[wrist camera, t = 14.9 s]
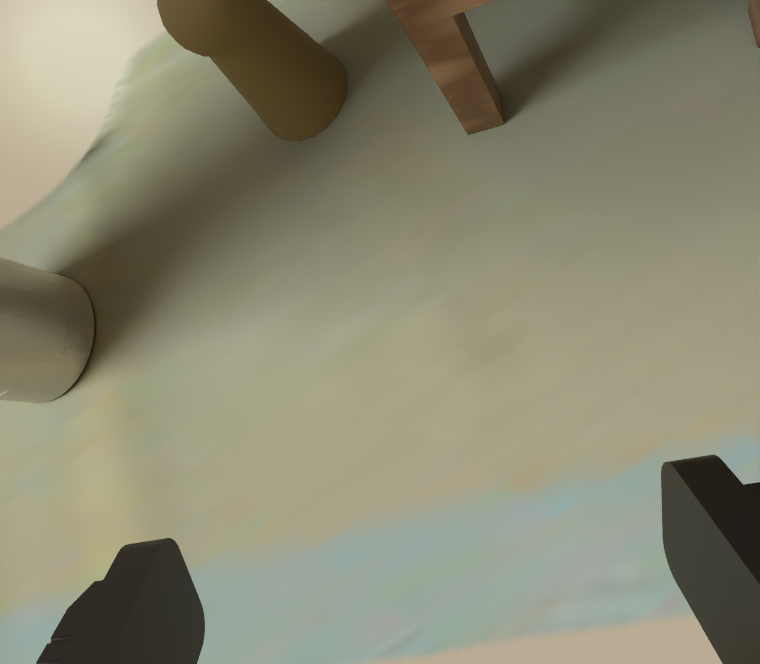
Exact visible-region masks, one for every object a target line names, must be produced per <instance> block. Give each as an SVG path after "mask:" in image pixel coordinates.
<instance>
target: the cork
mask: <svg viewBox="0 0 760 664" xmlns="http://www.w3.org/2000/svg"><path fill="white" fill-rule="evenodd" d="M157 6H158V10H159V13H160V16H161V19H162V22H163V25H164V27H165V28H166V30H167V31H168V33H169V34H170V35H171V36H172V37H173V38H174V39H175V40H176V42H178V43H179V44H180V45H181V46H182V47H184V48H185V49H187V50H189V51H192V52H194V53H196V54H199V55H201V56H204V57H206V56H209V57H210V58H211V59H212V60H213V62H214V63H215V64H216V65H217V66H218V67H219V69H220V70H221V71H222V72H223V73H224V75H225V76H226V77H227V78H228V79H229V81H230V82H231V83H232V84H233V85H234V86H235V88H236V89H237V90H238V91H239V92H240V94H241V95H242V96H243V97H244V98H245V99H246V101H247V102H248V103H249V104H250V105H251V107H252V108H253V109H254V110H255V111H256V113H257V114H258V115H259V116H260V117H261V118H262V120H263V121H264V122H265V123H266V124H267V126H268V127H269V128H270V129H271V130H272V131H273V132H274V133H275V134H276V135H277V136H279V137H281V138H283V139H286V140H296V141H300V140H303V139H307V138H310V137H313V136H315V135H316V134H318V133H319V132H321V131H322V130H324V129H325V128H326V127H327V126H328V125H329V124H330V123H331V122H332V121H333V119H334V118H335V117H336V116H337V114H338V112H339V110H340V108H341V106H342V105H343V103H344V98H345V94H346V90H347V82H346V74H345V71H344V69H343V67H342V65H341V63H340V62H339V61H338V60H337V59H336V58H335V57H334V56H332V55H331V54H330V53H329V52H328V51H327V50H325V49H324V48H323V47H322V46H321V45H319V44H318V43H317V42H316V41H315V40H313V39H312V38H311V37H310V36H309V35H308V34H306V33H305V32H304V31H303V30H302V29H300V28H299V27H298V26H297V25H296V24H295V23H293V22H292V21H291V20H290V19H289V18H287V17H286V16H285V15H284V14H283V13H282V12H280V11H279V10H278V9H277V8H276V7H274V6H273V5H272V4H271V3H270V2H268V1H267V0H157Z"/></svg>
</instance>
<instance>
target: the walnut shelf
mask: <svg viewBox="0 0 760 664" xmlns="http://www.w3.org/2000/svg"><path fill="white" fill-rule="evenodd" d="M491 1H493V0H387V2H388V4H389V5H390V7H391V9H392V10H393V12H394V13H395V15H396V17H397V18H398V20H399V22H400V23H401V25H402V27H403V28H404V30H405V32H406V33H407V35H408V37H409V38H410V40H411V41H412V43H413V45H414V46H415V48H416V50H417V51H418V53H419V55H420V56H421V58H422V60H423V61H424V63H425V65H426V66H427V68H428V70H429V71H430V73H431V74H432V76H433V78H434V79H435V81H436V83H437V84H438V86H439V88H440V89H441V91H442V93H443V94H444V96H445V98H446V99H447V101H448V102H449V104H450V106H451V107H452V109H453V111H454V112H455V114H456V116H457V117H458V119H459V121H460V122H461V124H462V126H463V127H464V129H465V130H466V132H467V134H468V135H469V134H473V133H476V132H479V131H483V130H486V129H489V128H493V127H496V126H499V125H503V124H504V121H503V114H502V107H501V101H500V94H499V90H498V88H497V86H496V83H495V81H494V79H493V77H492V74H491V72H490V70H489V68H488V65H487V63H486V61H485V59H484V57H483V54H482V52H481V50H480V48H479V45H478V43H477V41H476V39H475V37H474V34H473V32H472V30H471V28H470V25H469V23H468V21H467V19H466V17H465V14H464V11H467V10H470V9H472V8H475V7H477V6H480V5H483V4H485V3H488V2H491ZM748 13H749V16H750V20H751V24H752V28H753V32H754V35H755V39H756V43H757V47H760V0H750V4H749V9H748Z"/></svg>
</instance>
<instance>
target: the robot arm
mask: <svg viewBox="0 0 760 664" xmlns="http://www.w3.org/2000/svg"><path fill="white" fill-rule="evenodd" d="M93 337H94V314H93V310H92V306H91V302H90V300H89V298H88V296H87V294H86V292H85V291H84V290H83V288H82V287H81V286H80V285H79V284H78V283H76V282H75V281H73V280H72V279H70V278H66V277H63V276H60V275H56V274H53V273H50V272H47V271H43V270H40V269H37V268H34V267H30V266H27V265H24V264H21V263H18V262H15V261H11V260H8V259H5V258H1V257H0V400H8V401H20V402H32V403H43V402H49V401H51V400H53V399H55V398H58V397H59V396H61V395H62V394H63V393H65V392H66V391H67V390H68V389H69V388H70V387H71V386H72V385H73V384H74V383H75V381H76V380H77V379H78V377H79V376H80V374H81V372H82V371H83V369H84V367H85V365H86V362H87V360H88V358H89V355H90V352H91V348H92V344H93ZM661 487H662V526H663V544H664V550H665V554H666V558H667V561H668V564H669V567H670V570H671V572H672V575H673V577H674V579H675V581H676V583H677V585H678V586H679V588H680V590H681V591H682V593H683V595H684V597H685V598H686V600H687V602H688V604H689V605H690V607H691V609H692V611H693V612H694V614H695V616H696V618H697V619H698V621H699V623H700V625H701V626H702V628H703V630H704V632H705V633H706V635H707V637H708V639H709V640H710V642H711V644H712V646H713V647H714V649H715V651H716V652H717V654H718V656H719V658H720V659H721V661H722V663H723V664H760V482H759V483H752V484H746V485H743V484H742V483H741V482H740V480H739V479H738V478H737V477H736V476H735V475H734V474H733V472H732V471H731V470H730V469H729V468H728V467H727V465H726V464H725V463H724V462H723V461H722V460H721V459H720V458H719V457H718V456H716V455H708V456H702V457H695V458H689V459H682V460H676V461H670V462H665V463H664V464H663V466H662V470H661ZM204 633H205V620H204V612H203V608H202V604H201V602H200V599H199V597H198V594H197V592H196V589H195V587H194V584H193V582H192V579H191V577H190V574H189V572H188V569H187V567H186V564H185V562H184V559H183V557H182V554H181V552H180V549H179V547H178V545H177V543H176V542H175V541H174V540H173V539H171V538H166V539H159V540H153V541H147V542H140V543H134V544H128V545H125V546H123V547H122V548H121V549H120V551H119V552H118V554H117V556H116V558H115V560H114V561H113V563H112V565H111V567H110V569H109V571H108V572H107V574H106V576H105V578H104V580H102V581H95V582H94V583H93V584H92V585H91V586H90V587H89V588H88V589H87V590H86V591H85V592H84V593H83V594H82V595H81V596H80V597H79V598H78V599H77V600H76V601H75V602H74V603H73V604H72V605H71V606H70V607H69V608H68V609H67V611H66V613H65V614H64V616H63V618H62V619H61V621H60V623H59V625H58V626H57V628H56V630H55V631H54V633H53V635H52V637H51V643H50V644H47V645H46V647H45V649H44V650H43V652H42V654H41V655H40V657H39V659H38V661H37V662H36V663H37V664H197V662H198V658H199V655H200V652H201V649H202V645H203V641H204Z"/></svg>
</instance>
